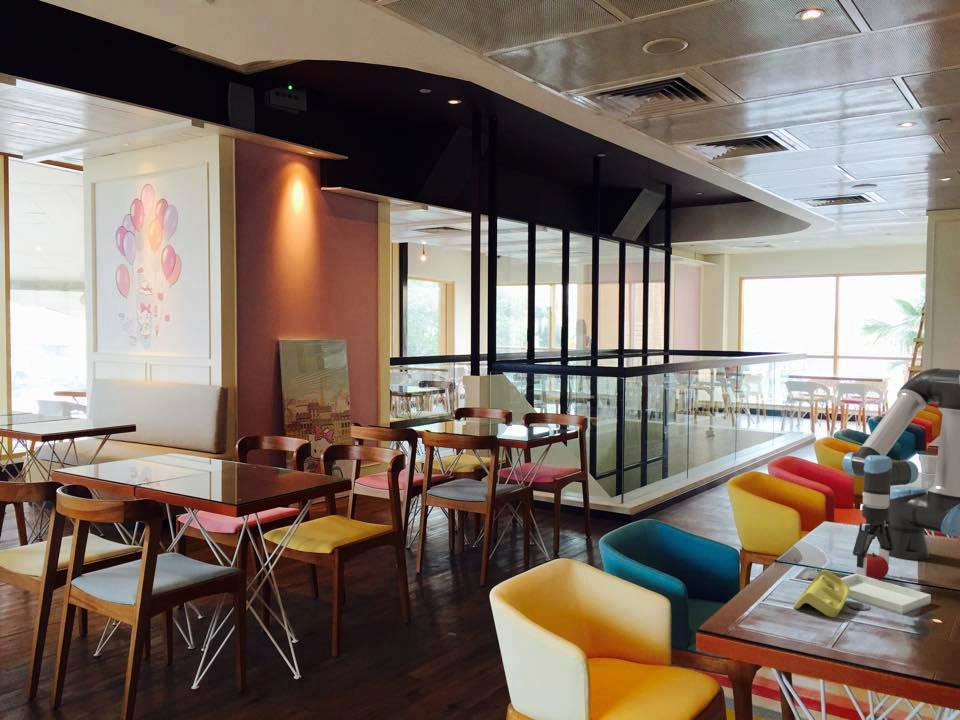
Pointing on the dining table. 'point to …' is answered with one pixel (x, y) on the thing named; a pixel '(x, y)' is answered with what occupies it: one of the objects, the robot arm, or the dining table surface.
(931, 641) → the dining table surface
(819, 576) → the plastic component
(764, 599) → the dining table surface
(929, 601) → the tray
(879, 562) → the tomato
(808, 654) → the dining table surface
